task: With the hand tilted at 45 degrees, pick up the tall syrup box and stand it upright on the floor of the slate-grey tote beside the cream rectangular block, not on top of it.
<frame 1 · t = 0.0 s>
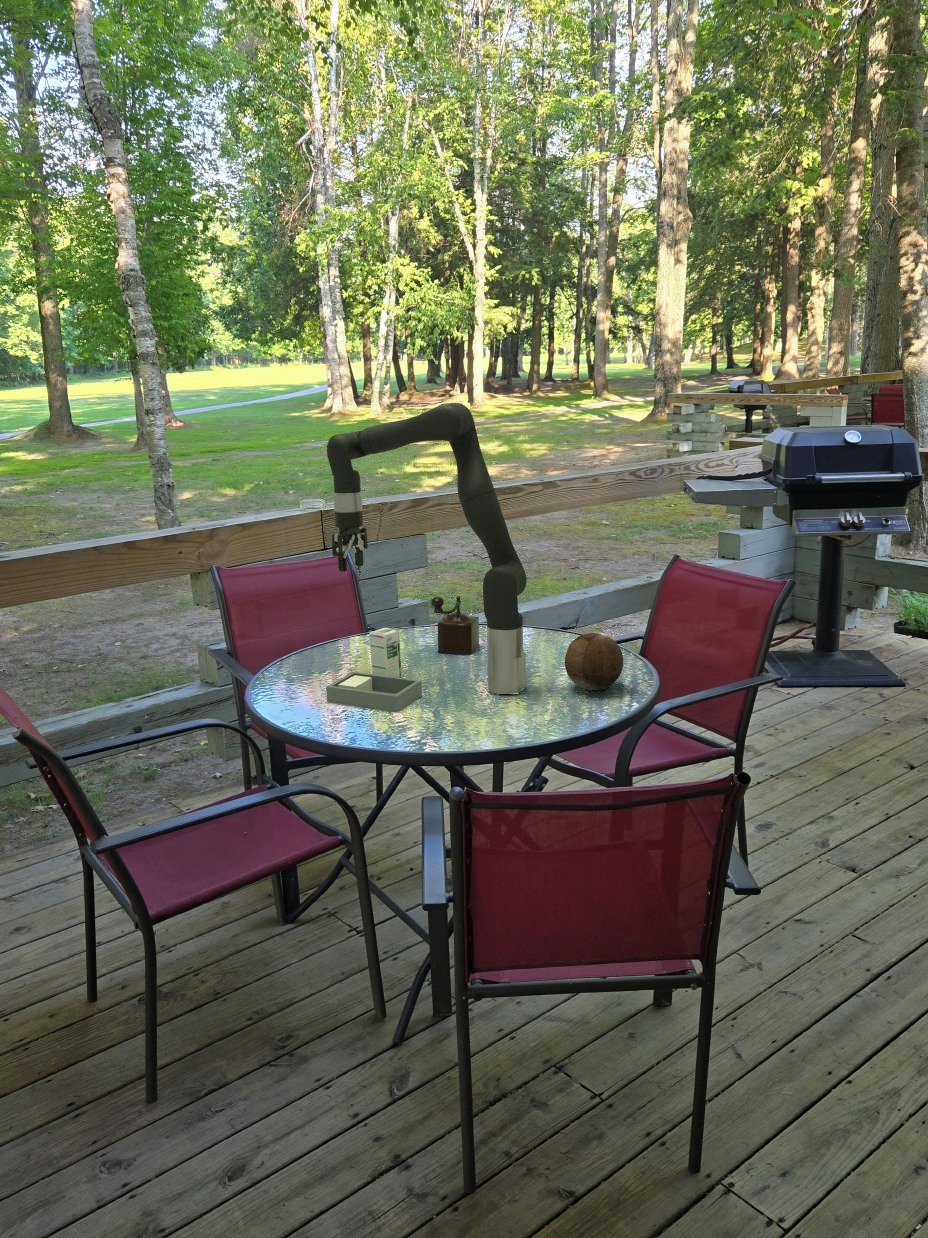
hand: (351, 568, 246), 29 cm above the table, tool pointing down, fingers open, 8 cm apart
wooden sphere: (593, 689, 235), on the table
tote: (375, 702, 228), on the table
manual coffee grinder: (455, 652, 270), on the table
cream rectangular block: (356, 696, 230), point 1 cm above the table, touching tote
syrup box: (386, 683, 243), on the table
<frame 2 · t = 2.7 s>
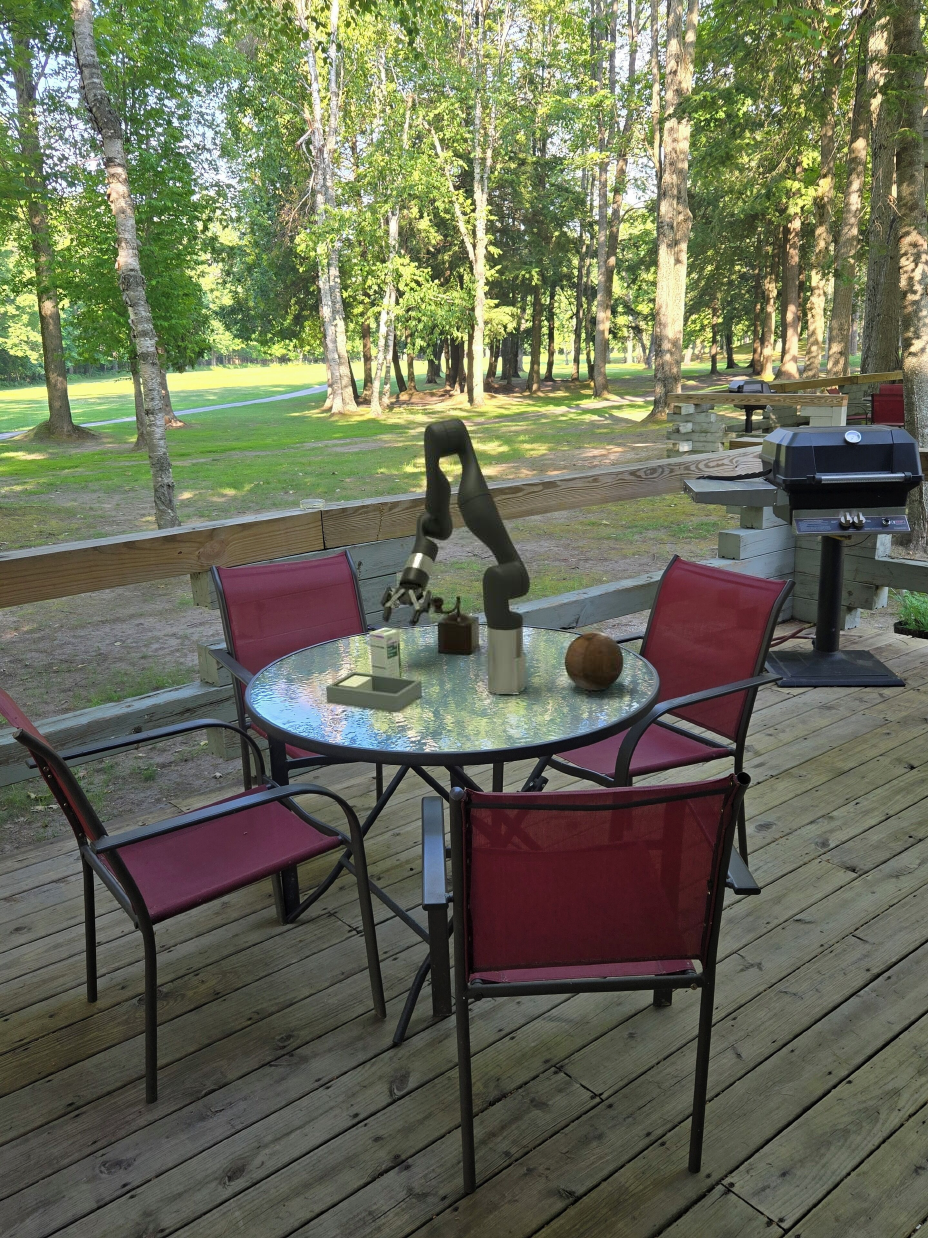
hand: (398, 622, 246), 15 cm above the table, tool tilted 45°, fingers open, 8 cm apart
nothing on the table moved.
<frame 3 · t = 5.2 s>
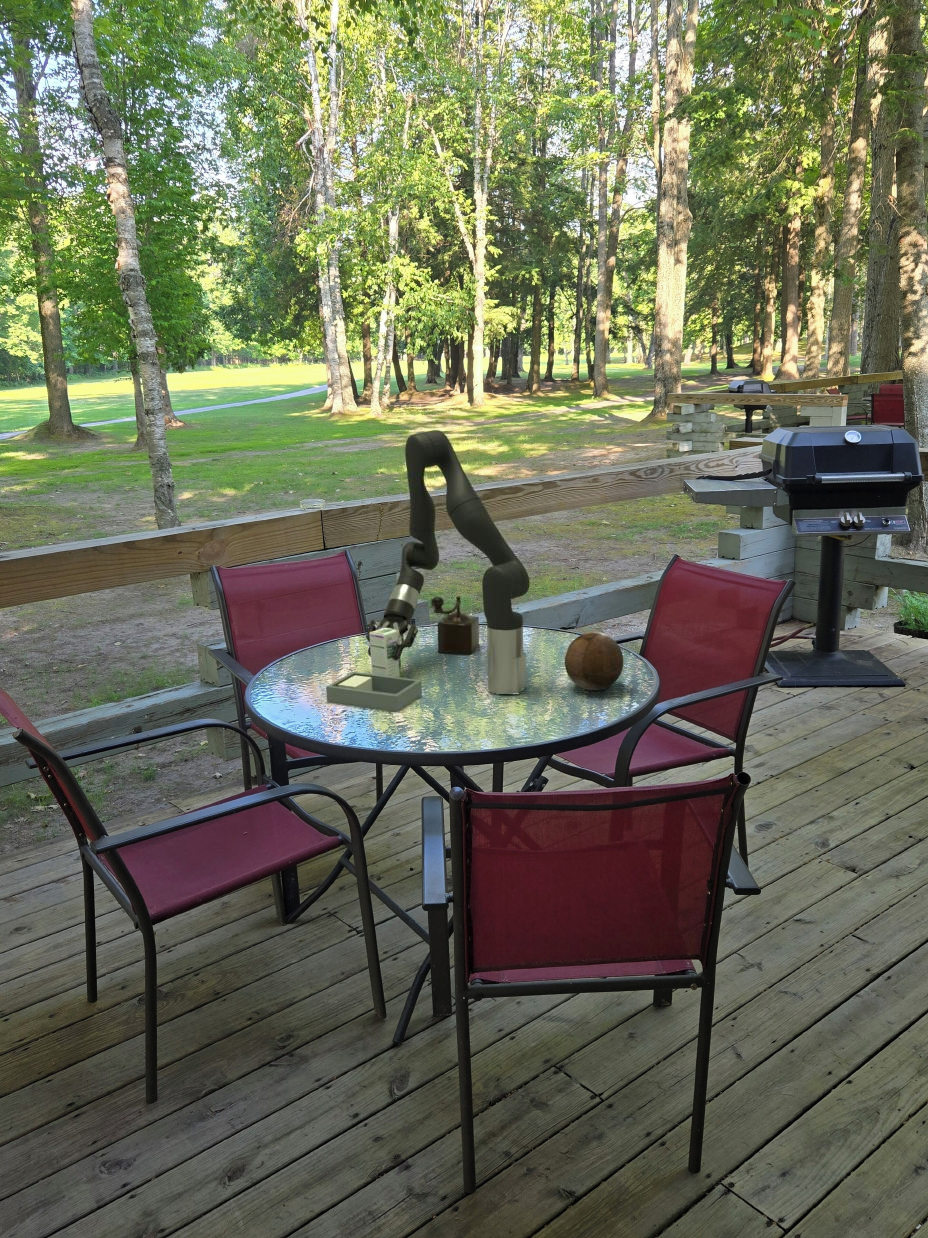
hand: (382, 657, 240), 7 cm above the table, tool tilted 45°, fingers closed on syrup box, 6 cm apart
syrup box: (386, 683, 243), on the table, touching gripper
everything else where it was.
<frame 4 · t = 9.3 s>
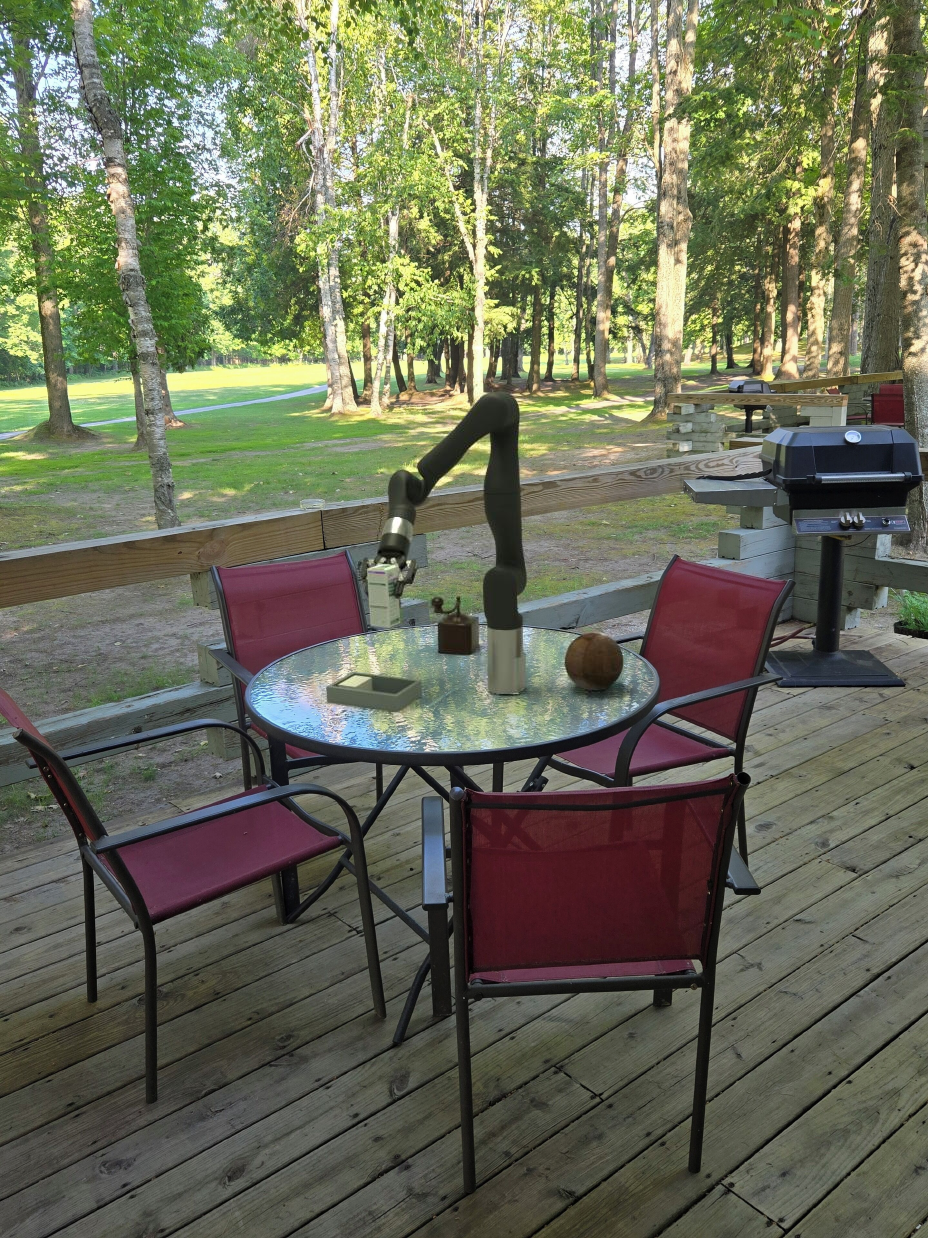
hand: (382, 596, 218), 28 cm above the table, tool tilted 45°, fingers closed on syrup box, 6 cm apart
syrup box: (385, 625, 221), point 20 cm above the table, touching gripper
everything else where it was.
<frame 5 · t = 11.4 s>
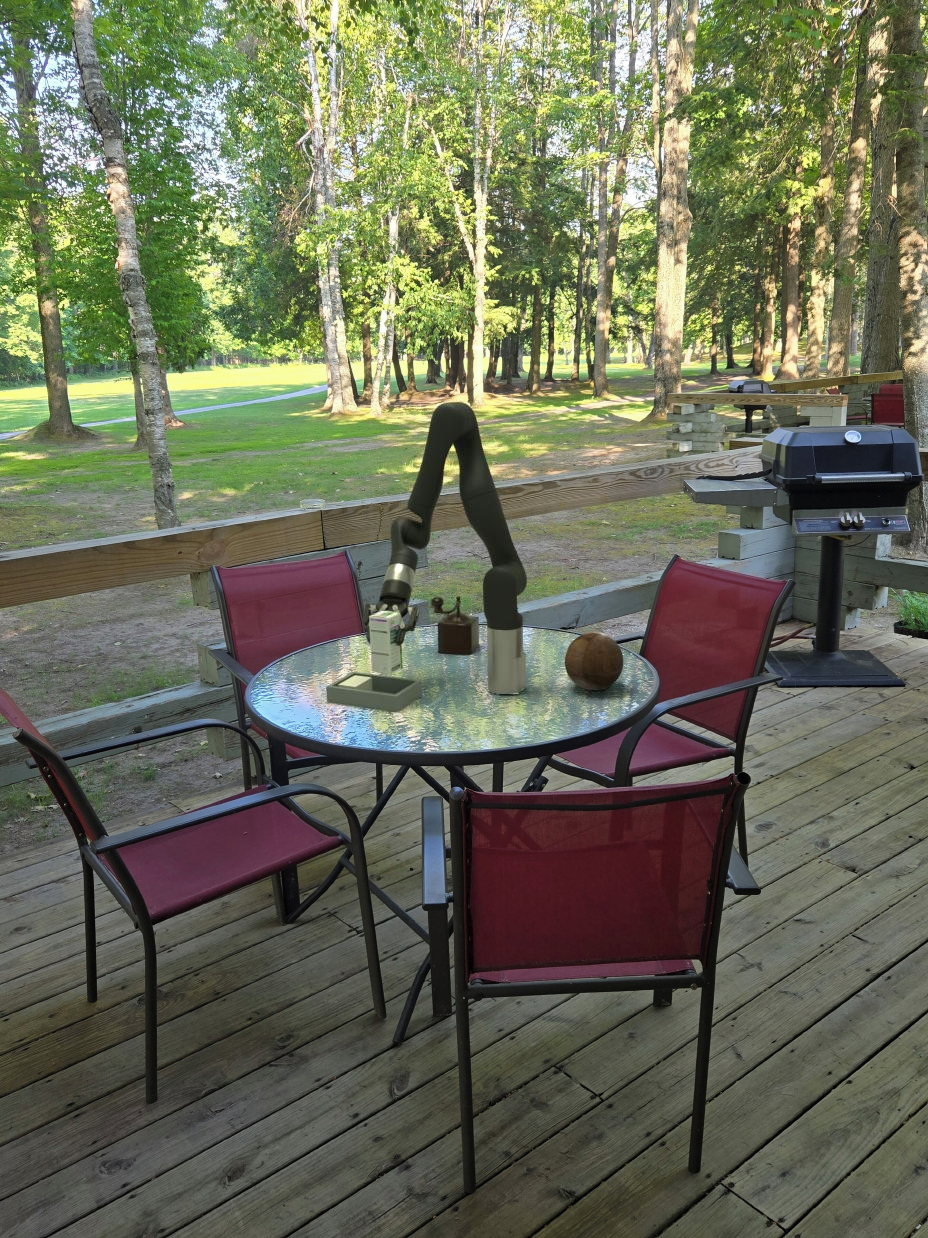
hand: (383, 643, 221), 16 cm above the table, tool tilted 45°, fingers closed on syrup box, 6 cm apart
syrup box: (386, 670, 224), point 9 cm above the table, touching gripper
everything else where it was.
when the fingers open (10 cm above the table, at t = 13.3 s): syrup box drops 1 cm, resting on tote.
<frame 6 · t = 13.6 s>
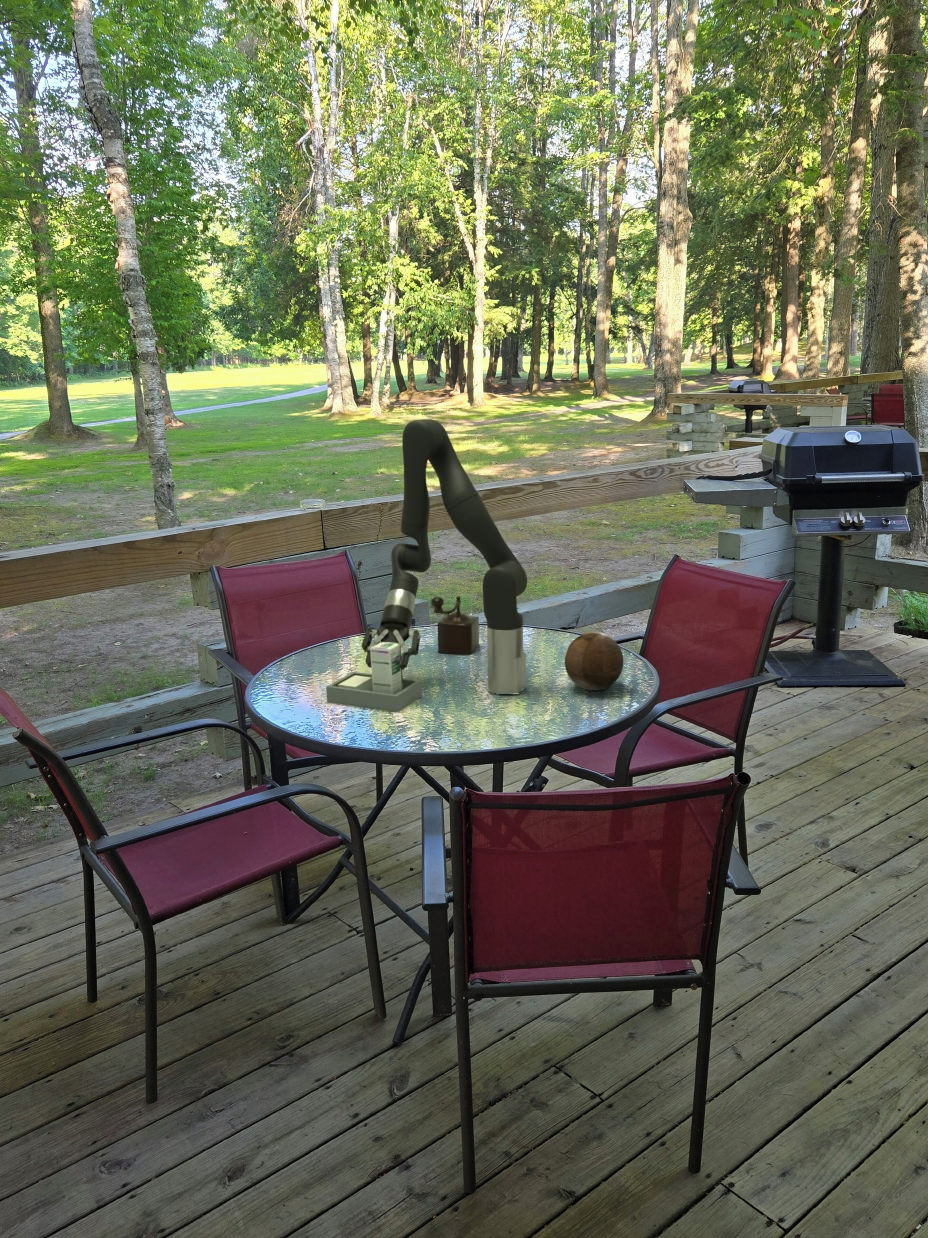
hand: (385, 667, 222), 10 cm above the table, tool tilted 45°, fingers open, 8 cm apart
syrup box: (388, 701, 226), point 1 cm above the table, touching tote
everything else where it was.
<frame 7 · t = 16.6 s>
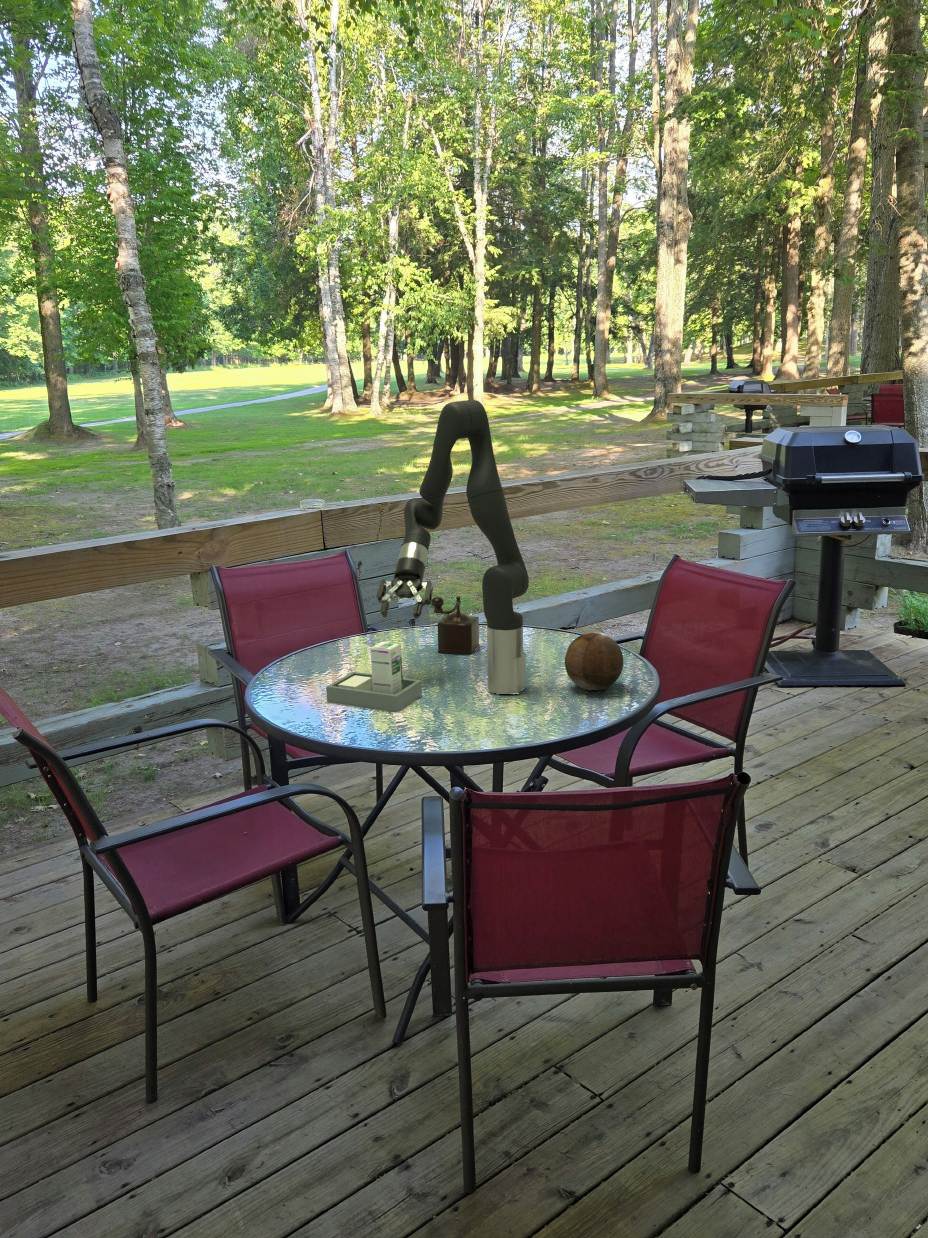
hand: (399, 616, 231), 20 cm above the table, tool tilted 45°, fingers open, 8 cm apart
nothing on the table moved.
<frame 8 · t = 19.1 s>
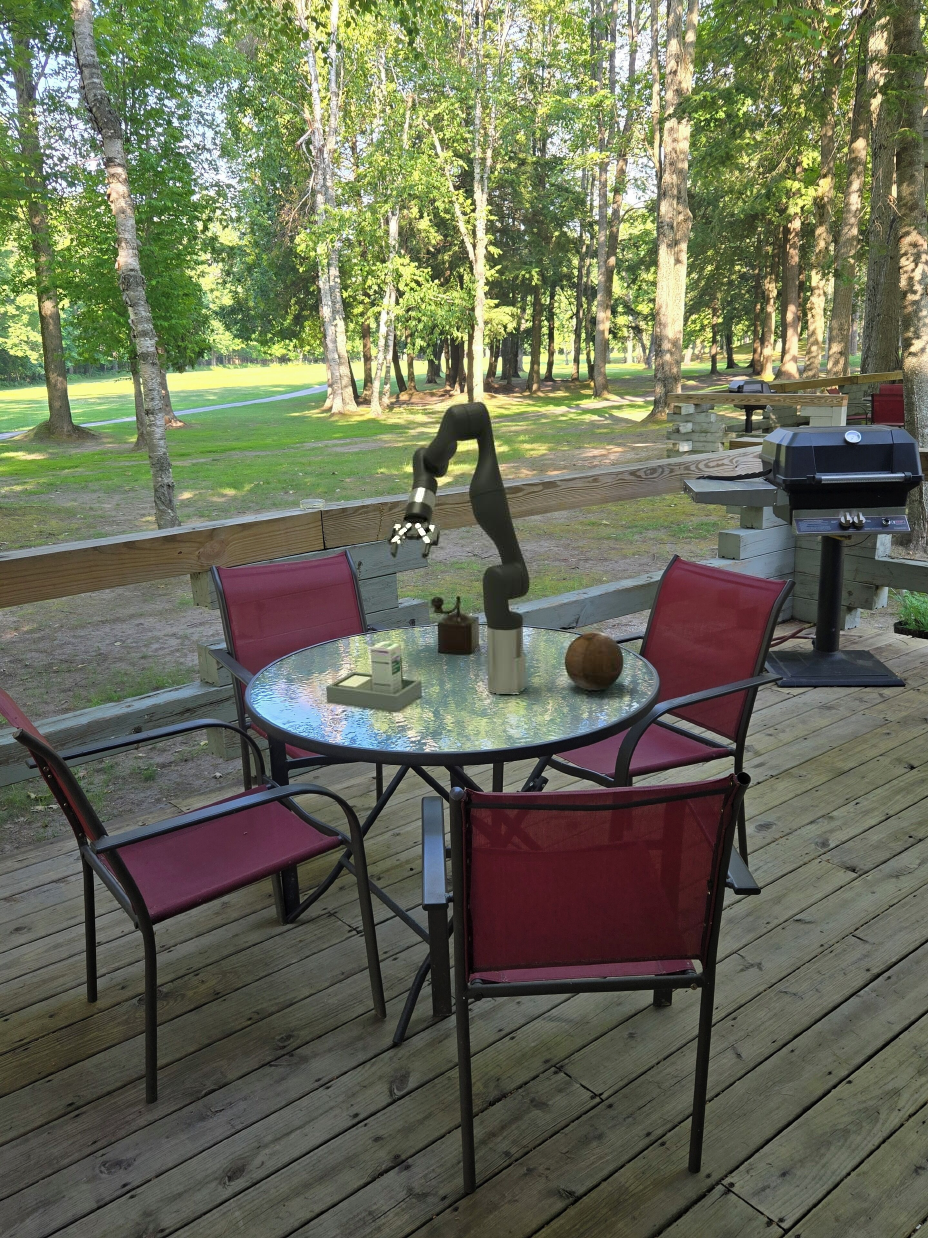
hand: (408, 556, 243), 33 cm above the table, tool tilted 45°, fingers open, 8 cm apart
nothing on the table moved.
at the end: syrup box inside the target area on the tote (0.2 cm from its centre), point 0.8 cm above the tote's base; syrup box tilted 0°; syrup box touching tote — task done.
